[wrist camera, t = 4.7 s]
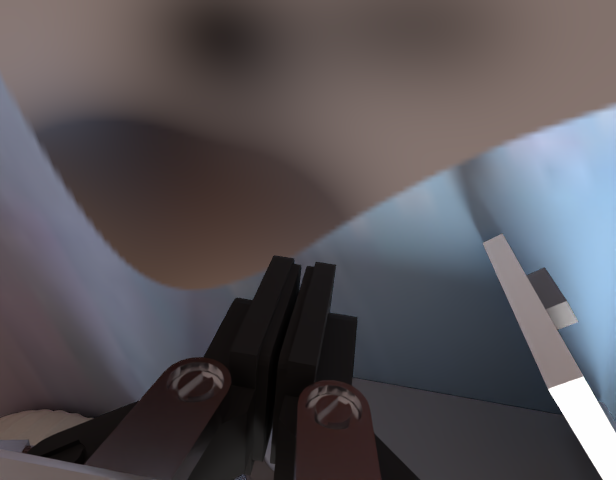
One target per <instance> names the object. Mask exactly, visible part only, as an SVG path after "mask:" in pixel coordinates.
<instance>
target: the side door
mask: <svg viewBox="0 0 616 480" xmlns="http://www.w3.org/2000/svg"><path fill="white" fill-rule="evenodd" d="M483 245H484V248H485V250H486V252H487V254H488V257H489V259H490V261H491V263H492V265H493V268H494V270H495V272H496V274H497V277H498V279H499V281H500V283H501V285H502V288H503V290H504V292H505V294H506V297H507V299H508V301H509V303H510V306H511V308H512V310H513V312H514V314H515V317H516V319H517V321H518V323H519V326H520V328H521V330H522V332H523V334H524V337H525V339H526V341H527V343H528V346H529V348H530V350H531V352H532V354H533V357H534V359H535V361H536V363H537V366H538V368H539V370H540V372H541V374H542V377H543V379H544V381H545V383H546V386H547V388H548V390H549V391H550V393H551V395H552V396H553V398H554V400H555V401H556V403H557V405H558V406H559V408H560V410H561V411H562V413H563V415H564V416H565V418H566V420H567V421H568V423H569V424H570V426H571V428H572V429H573V431H574V433H575V434H576V436H577V438H578V439H579V441H580V443H581V444H582V446H583V448H584V449H585V451H586V453H587V454H588V456H589V458H590V459H591V461H592V463H593V464H594V466H595V467H596V469H597V471H598V472H599V474H600V476H601V477H602V479H603V480H616V422H615V420H614V419H613V417H612V415H611V414H610V412H609V410H608V408H607V407H606V405H605V404H604V403H602V402H600V401H597V399H596V397H595V395H594V394H593V392H592V390H591V388H590V387H589V385H588V383H587V381H586V380H585V378H584V376H583V374H582V373H581V371H580V369H579V367H578V366H577V364H576V362H575V360H574V359H573V357H572V355H571V353H570V352H569V350H568V348H567V346H566V344H565V343H564V341H563V339H562V337H561V336H560V334H559V332H558V330H559V329H561V328H564V327H567V326H569V325H572V324H574V323H577V322H578V320H577V318H576V317H575V315H574V313H573V311H572V309H571V308H570V306H569V304H568V302H567V300H566V299H565V297H564V296H563V294H562V293H561V291H560V290H559V288H558V287H557V285H556V284H555V282H554V281H553V279H552V278H551V276H550V275H549V273H548V272H547V270H546V269H545V267H544V268H542V269H540V270H538V271H535V272H533V273H531V274H529V275H526V274H525V272H524V271H523V269H522V267H521V265H520V264H519V262H518V260H517V258H516V257H515V255H514V253H513V251H512V250H511V248H510V246H509V244H508V243H507V241H506V239H505V237H504V236H503V234H500V235H498V236H496V237H494V238H492V239H490V240H488V241H486V242H484V243H483Z"/></svg>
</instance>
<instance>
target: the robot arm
mask: <svg viewBox="0 0 616 480" xmlns="http://www.w3.org/2000/svg"><path fill="white" fill-rule="evenodd" d="M335 269H336V265H333V264H327V263H320V262H316V263H315V266H314V267H311V266H307V268H306V271H305V274H304V277H303V281H302V284H301V287H300V290H299V286H300V276H301V265H298V264H294V258H287V257H280V256H273V258H272V261H271V262H270V264H269V267H268V269H267V271H266V273H265V275H264V277H263V279H262V282H261V284H260V286H259V288H258V290H257V292H256V295H255V297H254V299H253V300H248V299H242V298H235V300H234V301H233V303H232V305H231V307H230V308H229V310H228V312H227V314H226V316H225V318H224V320H223V322H222V323H221V325H220V327H219V329H218V331H217V333H216V335H215V337H214V338H213V340H212V342H211V344H210V346H209V348H208V350H207V352H206V354H205V355H204V357H197V358H189V359H185V360H181V361H179V362H177V363H175V364H173V365H171V366H170V367H169V368H168V369H167V370H166V371H164V373H163V374H162V375H161V376H160V377H159V378H158V380H157V381H156V382H155V383H154V384H153V385H152V386H151V388H150V389H149V390H148V391H147V392H146V393H145V395H144V396H143V397H142V398H141V399H140V400H139V401H137V402H134V403H132V404H129V405H127V406H124V407H122V408H119V409H117V410H114V411H112V412H109V413H106V414H104V415H101V416H99V417H96V418H94V419H91V420H89V421H86V422H84V423H81V424H79V425H76V426H73V427H71V428H68V429H66V430H63V431H61V432H58V433H56V434H53V435H51V436H49V437H47V438H45V439H44V440H42V441H40V442H39V443H37V444H36V445H33V446H30V443H29V439H27V440H0V480H233V479H235V478H237V477H239V476H241V475H242V474H244V475H249V476H250V475H251V472H252V469H253V465H254V462H255V461H260V462H263V460H264V457H265V454H266V450H267V446H268V443H269V439H270V435H271V431H272V441H271V454H270V463H271V464H275V469H274V480H420V479H419V478H418V477H417V476H416V475H415V474H414V473H413V472H412V471H411V470H410V469H409V468H408V467H407V466H406V465H405V464H404V463H403V462H402V461H401V460H400V459H399V458H398V457H397V456H396V455H395V454H394V453H393V452H392V451H391V450H390V449H389V448H388V447H387V446H386V445H385V444H384V443H383V441H382V440H381V439H380V438H379V437H378V436H377V435H376V434H375V433H374V430H373V424H372V417H371V411H370V407H369V404H368V401H367V399H366V398H365V397H364V395H363V394H362V393H361V392H360V391H359V390H357V389H356V388H355V387H353V386H352V378H353V366H354V354H355V343H356V331H357V317H353V316H347V315H340V314H334V313H330V306H331V299H332V291H333V284H334V277H335ZM272 428H273V429H272Z"/></svg>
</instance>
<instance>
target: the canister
mask: <svg viewBox="0 0 616 480" xmlns="http://www.w3.org/2000/svg"><path fill="white" fill-rule="evenodd" d="M91 419H94V418H86V417H84V416H82V415H80V414H79V413H67V412H65V411H63V410H56V411H51V410H48V409H41V410H37V411H35V410H28V411H23V412H19V413H16V414H10V415H7V416H4V417H1V418H0V440H27V439H29V443H30V446H33V445H36V444H37V443H39V442H40V441H42V440H44V439H45V438H47V437H49V436H51V435H53V434H56V433H58V432H61V431H63V430H66V429H68V428H71V427H73V426H76V425H79V424H81V423H84V422H86V421H89V420H91Z"/></svg>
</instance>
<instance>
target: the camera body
mask: <svg viewBox="0 0 616 480" xmlns="http://www.w3.org/2000/svg"><path fill="white" fill-rule="evenodd" d="M352 386H353V387H355V388H356V389H357V390H359V391H360V392H361V393H362V394H363V395H364V397H365V398H366V399H367V401H368V404H369V407H370V411H371V417H372V424H373V430H374V433H375V434H376V435H377V436H378V437H379V438H380V439H381V440H382V441H383V443H384V444H385V445H386V446H387V447H388V448H389V449H390V450H391V451H392V452H393V453H394V454H395V455H396V456H397V457H398V458H399V459H400V460H401V461H402V462H403V463H404V464H405V465H406V466H407V467H408V468H409V469H410V470H411V471H412V472H413V473H414V474H415V475H416V476H417V477H418V478H419V479H420V480H603V479H602V477H601V476H600V474H599V472H598V471H597V469H596V467H595V466H594V464H593V463H592V461H591V459H590V458H589V456H588V454H587V453H586V451H585V449H584V448H583V446H582V444H581V443H580V441H579V439H578V438H577V436H576V434H575V433H574V431H573V429H572V428H571V426H570V424H569V423H568V421H567V420H566V418H565V416H564V415H559V414H553V413H548V412H542V411H537V410H531V409H525V408H520V407H514V406H509V405H503V404H498V403H492V402H486V401H481V400H475V399H470V398H464V397H458V396H453V395H447V394H442V393H436V392H431V391H425V390H419V389H414V388H408V387H403V386H397V385H391V384H386V383H380V382H375V381H369V380H364V379H358V378H352ZM272 429H273V428H272ZM271 441H272V431H271V435H270V439H269V443H268V446H267V450H266V454H265V457H264V460H263V462H260V461H255V462H254V465H253V469H252V472H251V475H250V476H249V475H246V479H247V480H274V469H275V464H271V463H270V454H271Z"/></svg>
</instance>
